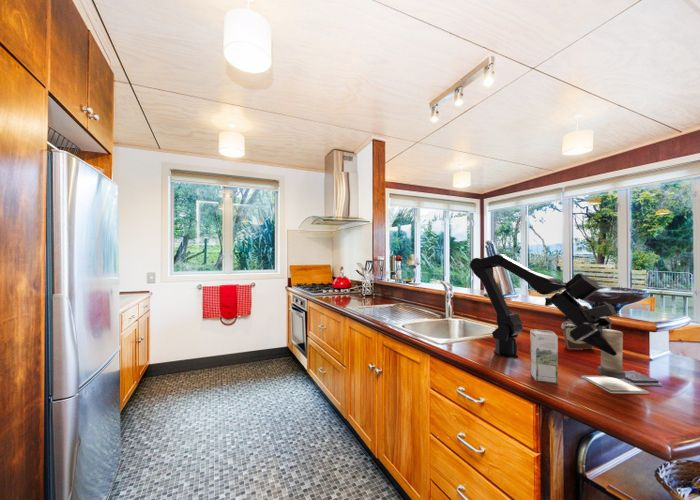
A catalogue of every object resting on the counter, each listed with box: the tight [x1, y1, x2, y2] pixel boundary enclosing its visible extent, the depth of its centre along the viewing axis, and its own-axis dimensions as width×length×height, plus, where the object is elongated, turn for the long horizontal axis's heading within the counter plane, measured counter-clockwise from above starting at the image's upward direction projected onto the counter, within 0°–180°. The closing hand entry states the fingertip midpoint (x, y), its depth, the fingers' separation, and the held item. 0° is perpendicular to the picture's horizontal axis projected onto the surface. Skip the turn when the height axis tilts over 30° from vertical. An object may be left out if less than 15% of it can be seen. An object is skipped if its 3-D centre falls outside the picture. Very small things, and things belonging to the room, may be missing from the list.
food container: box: [560, 321, 594, 350], centre depth 117 cm, size 12×6×10 cm, turn 84°
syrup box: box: [529, 328, 559, 384], centre depth 86 cm, size 6×6×14 cm
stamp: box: [597, 328, 626, 379], centre depth 82 cm, size 6×6×13 cm
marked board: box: [580, 375, 650, 395], centre depth 82 cm, size 10×10×1 cm
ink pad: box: [622, 370, 663, 386], centre depth 86 cm, size 8×8×1 cm
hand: (618, 353), depth 81 cm, fingers closed on stamp, 5 cm apart
